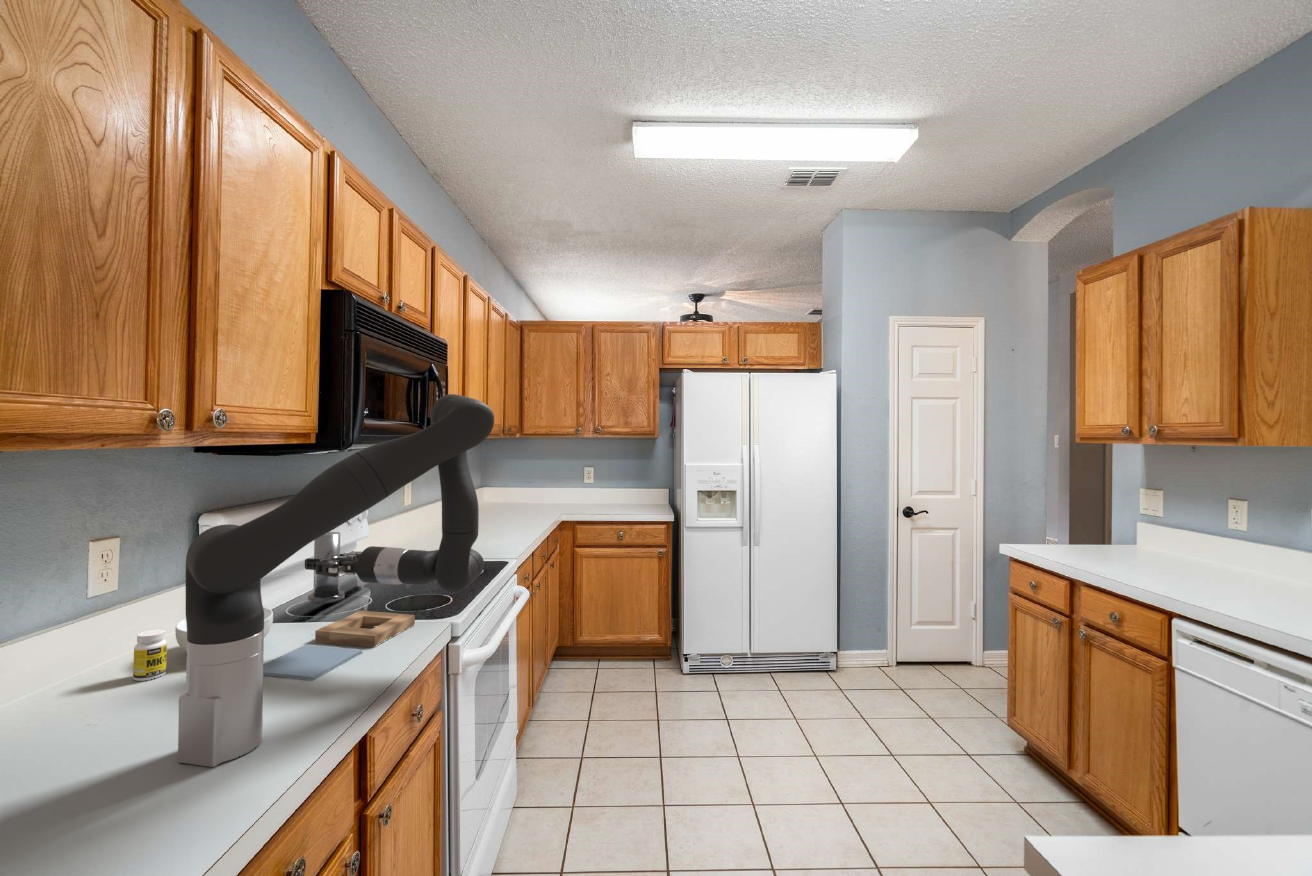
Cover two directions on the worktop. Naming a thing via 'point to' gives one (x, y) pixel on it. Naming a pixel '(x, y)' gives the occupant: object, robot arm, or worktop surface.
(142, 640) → the supplement bottle
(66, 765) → the worktop surface
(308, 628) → the worktop surface
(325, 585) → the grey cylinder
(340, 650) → the mat
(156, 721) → the worktop surface
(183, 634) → the cereal bowl
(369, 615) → the frame
